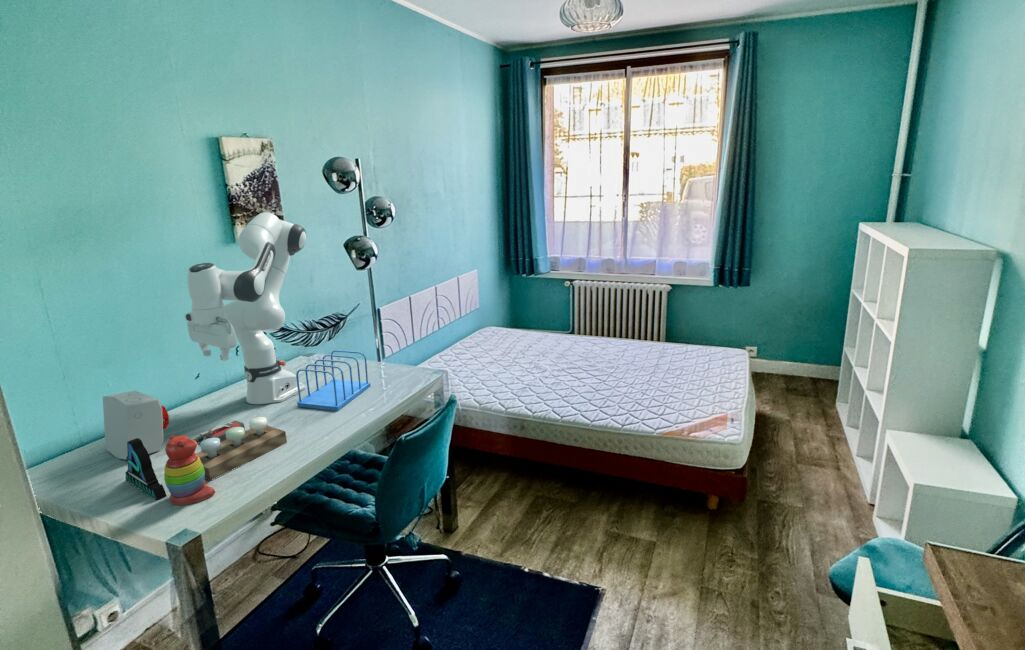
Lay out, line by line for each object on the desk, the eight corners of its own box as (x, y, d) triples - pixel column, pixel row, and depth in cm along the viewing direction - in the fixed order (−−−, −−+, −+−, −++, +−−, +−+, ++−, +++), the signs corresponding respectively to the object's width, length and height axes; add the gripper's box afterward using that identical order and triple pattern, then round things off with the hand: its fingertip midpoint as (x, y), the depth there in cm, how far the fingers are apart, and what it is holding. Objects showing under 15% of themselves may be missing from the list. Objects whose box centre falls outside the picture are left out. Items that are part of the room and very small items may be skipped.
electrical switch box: (179, 449, 177) (177, 391, 174) (129, 464, 164) (125, 401, 162) (155, 439, 184) (153, 383, 182) (105, 452, 172) (102, 392, 169)
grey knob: (215, 451, 164) (213, 436, 163) (226, 455, 161) (223, 439, 160) (199, 459, 160) (196, 443, 158) (209, 463, 157) (206, 447, 156)
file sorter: (338, 411, 199) (333, 373, 194) (297, 407, 203) (291, 369, 199) (370, 386, 222) (367, 351, 218) (333, 383, 226) (329, 348, 222)
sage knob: (239, 440, 171) (237, 425, 169) (250, 444, 168) (247, 429, 167) (224, 447, 166) (221, 432, 165) (234, 451, 164) (232, 436, 162)
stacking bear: (217, 494, 148) (206, 436, 143) (177, 511, 141) (163, 450, 136) (203, 480, 155) (192, 424, 150) (163, 496, 148) (150, 437, 143)
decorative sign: (126, 480, 156) (114, 434, 152) (135, 476, 158) (124, 430, 154) (157, 501, 145) (145, 451, 141) (166, 496, 147) (155, 447, 143)
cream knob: (262, 430, 177) (259, 415, 176) (272, 433, 175) (270, 418, 173) (247, 436, 173) (245, 421, 172) (258, 440, 170) (255, 425, 169)
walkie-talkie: (233, 425, 190) (177, 450, 173) (231, 413, 189) (174, 438, 172) (249, 430, 186) (193, 456, 169) (247, 418, 185) (191, 444, 168)
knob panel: (263, 434, 182) (261, 423, 181) (286, 442, 176) (285, 431, 175) (186, 470, 160) (184, 458, 159) (210, 480, 154) (208, 468, 153)
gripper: (238, 317, 165) (245, 360, 169) (201, 310, 176) (207, 350, 179) (219, 321, 160) (225, 365, 164) (181, 314, 170) (188, 355, 174)
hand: (216, 357), depth 171 cm, fingers open, 8 cm apart
